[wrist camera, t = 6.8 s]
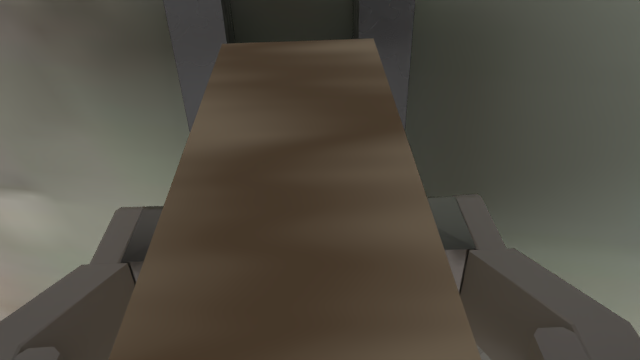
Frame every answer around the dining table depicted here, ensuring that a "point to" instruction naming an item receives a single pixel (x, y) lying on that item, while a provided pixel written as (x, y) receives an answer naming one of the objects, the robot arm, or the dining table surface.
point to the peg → (296, 223)
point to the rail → (217, 28)
